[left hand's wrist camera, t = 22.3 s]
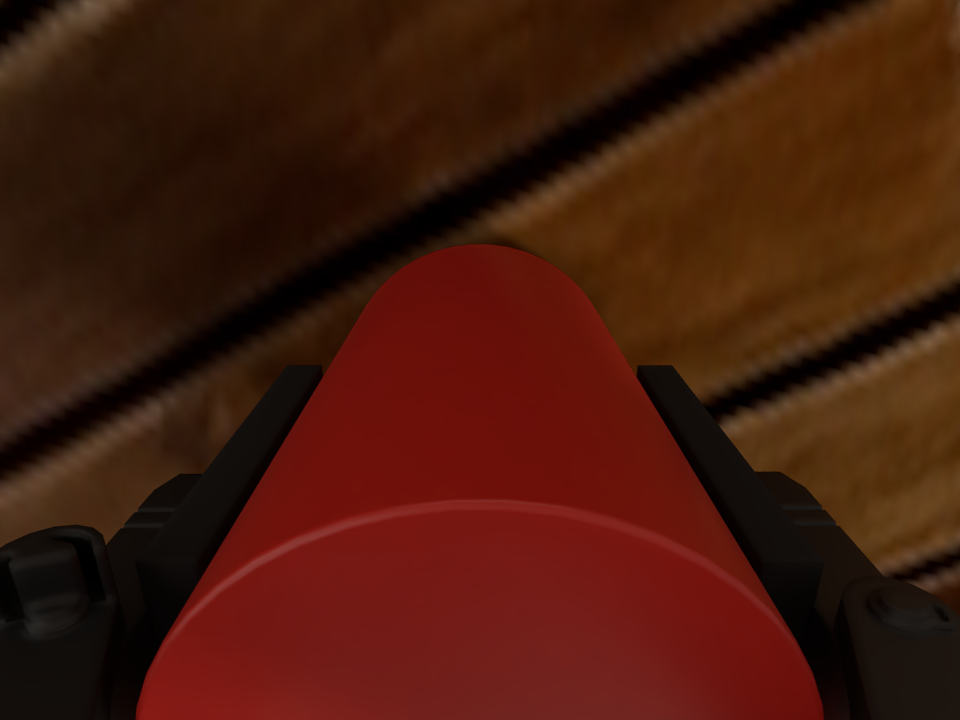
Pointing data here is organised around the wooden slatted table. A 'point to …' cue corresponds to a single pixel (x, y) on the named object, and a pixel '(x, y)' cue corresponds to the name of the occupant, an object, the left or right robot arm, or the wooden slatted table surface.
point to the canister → (479, 535)
